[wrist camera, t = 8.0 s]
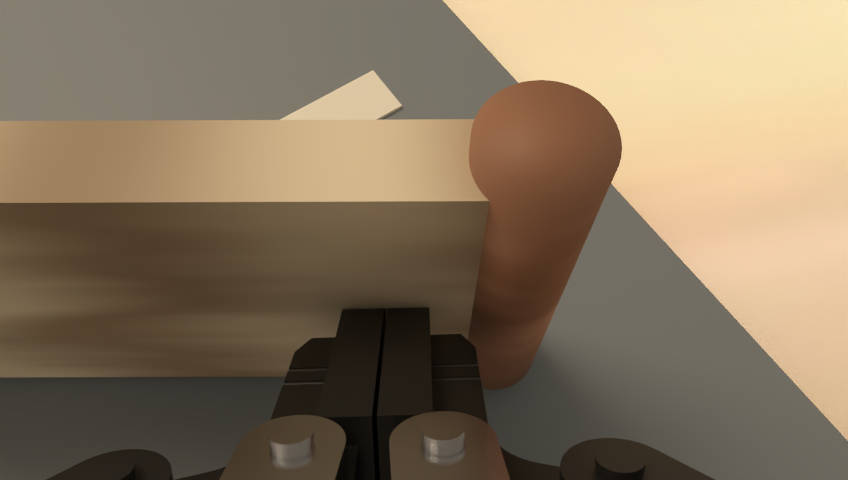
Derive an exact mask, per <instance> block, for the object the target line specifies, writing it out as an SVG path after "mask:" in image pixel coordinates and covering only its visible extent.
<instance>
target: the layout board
mask: <svg viewBox="0 0 848 480" xmlns="http://www.w3.org/2000/svg"><path fill="white" fill-rule="evenodd" d="M514 84H518V82H517V81H516V80H515V79H514V78H513V77H512V76H511V75H510V73H509V72H508V71H507V70H506V69H505V68H504V67H503V66H502V65H501V64H500V63H499V62H498V60H497V59H496V58H495V57H494V56H493V55H492V54H491V53H490V52H489V51H488V50H487V48H486V47H485V46H484V45H483V44H482V43H481V42H480V41H479V40H478V39H477V38H476V37H475V35H474V34H473V33H472V32H471V31H470V30H469V29H468V28H467V27H466V26H465V25H464V23H463V22H462V21H461V20H460V19H459V18H458V17H457V16H456V15H455V14H454V13H453V12H452V10H451V9H450V8H449V7H448V6H447V5H446V4H445V3H444V2H443V1H442V0H0V121H140V120H404V119H475V117H476V115H477V113H478V111H479V110H480V108H481V107H482V106H483V105H484V103H485V102H486V101H487V100H488V99H489V98H490V97H492V96H493V95H495V94H496V93H497V92H499V91H501V90H503V89H504V88H507V87H509V86H511V85H514ZM284 380H285V377H0V480H46V479H48V478H50V477H52V476H54V475H56V474H58V473H60V472H62V471H64V470H66V469H68V468H70V467H72V466H74V465H76V464H78V463H80V462H82V461H85V460H87V459H89V458H92V457H94V456H97V455H100V454H104V453H108V452H112V451H117V450H125V449H143V450H150V451H154V452H157V453H159V454H161V455H163V456H164V457H165V458H167V460H168V461H169V462H170V465H171V468H172V475H173V480H175V479H179V478H184V477H188V476H192V475H197V474H201V473H206V472H210V471H213V470H217V469H220V468H223V467H226V466H227V464H228V462H229V460H230V459H231V457H232V455H233V453H234V451H235V449H236V447H237V446H238V444H239V442H240V441H241V439H242V438H243V437H244V436H245V435H246V434H247V433H248V432H249V431H250V430H252V429H253V428H255V427H257V426H258V425H260V424H262V423H265V422H267V421H270V419H271V417H272V414H273V411H274V408H275V405H276V403H277V400H278V397H279V394H280V391H281V389H282V386H283V385H284ZM482 390H483V396H484V402H485V408H486V414H487V420H488V425H489V426H491V428H492V429H493V430H494V432H495V434H496V436H497V439H498V442H499V445H500V446H501V447H502V448H503V449H504V450H506V451H508V452H509V453H511V454H513V455H515V456H517V457H520V458H522V459H526V460H529V461H532V462H537V463H541V464H547V465H553V466H558V467H560V463H561V459H562V457H563V455H564V453H565V452H566V451H567V450H568V449H570V448H571V447H572V446H574V445H576V444H578V443H580V442H583V441H587V440H591V439H597V438H619V439H626V440H631V441H635V442H639V443H642V444H645V445H647V446H649V447H652V448H654V449H656V450H658V451H660V452H662V453H664V454H666V455H668V456H670V457H672V458H674V459H676V460H678V461H680V462H682V463H683V464H685V465H687V466H689V467H691V468H693V469H695V470H697V471H699V472H701V473H703V474H705V475H707V476H709V477H711V478H713V479H715V480H848V441H847V440H846V439H845V438H844V437H843V436H842V435H841V433H840V432H839V431H838V430H837V429H836V428H835V427H834V426H833V425H832V424H831V423H830V421H829V420H828V419H827V418H826V417H825V416H824V415H823V414H822V413H821V412H820V411H819V410H818V408H817V407H816V406H815V405H814V404H813V403H812V402H811V401H810V400H809V399H808V398H807V396H806V395H805V394H804V393H803V392H802V391H801V390H800V389H799V388H798V387H797V386H796V384H795V383H794V382H793V381H792V380H791V379H790V378H789V377H788V376H787V375H786V374H785V373H784V371H783V370H782V369H781V368H780V367H779V366H778V365H777V364H776V363H775V362H774V361H773V359H772V358H771V357H770V356H769V355H768V354H767V353H766V352H765V351H764V350H763V349H762V348H761V346H760V345H759V344H758V343H757V342H756V341H755V340H754V339H753V338H752V337H751V336H750V334H749V333H748V332H747V331H746V330H745V329H744V328H743V327H742V326H741V325H740V324H739V323H738V321H737V320H736V319H735V318H734V317H733V316H732V315H731V314H730V313H729V312H728V311H727V309H726V308H725V307H724V306H723V305H722V304H721V303H720V302H719V301H718V300H717V299H716V298H715V296H714V295H713V294H712V293H711V292H710V291H709V290H708V289H707V288H706V287H705V286H704V284H703V283H702V282H701V281H700V280H699V279H698V278H697V277H696V276H695V275H694V274H693V272H692V271H691V270H690V269H689V268H688V267H687V266H686V265H685V264H684V263H683V262H682V261H681V259H680V258H679V257H678V256H677V255H676V254H675V253H674V252H673V251H672V250H671V249H670V247H669V246H668V245H667V244H666V243H665V242H664V241H663V240H662V239H661V238H660V237H659V236H658V234H657V233H656V232H655V231H654V230H653V229H652V228H651V227H650V226H649V225H648V224H647V222H646V221H645V220H644V219H643V218H642V217H641V216H640V215H639V214H638V213H637V212H636V211H635V209H634V208H633V207H632V206H631V205H630V204H629V203H628V202H627V201H626V200H625V199H624V197H623V196H622V195H621V194H620V193H619V192H618V191H617V190H616V189H615V188H614V187H613V185H612V184H610V186H609V189H608V191H607V193H606V196H605V198H604V200H603V202H602V205H601V207H600V209H599V212H598V214H597V216H596V218H595V221H594V223H593V225H592V228H591V230H590V232H589V234H588V237H587V239H586V241H585V244H584V246H583V248H582V250H581V253H580V255H579V257H578V260H577V262H576V264H575V266H574V269H573V271H572V273H571V276H570V278H569V280H568V282H567V285H566V287H565V289H564V292H563V294H562V296H561V298H560V301H559V303H558V305H557V308H556V310H555V312H554V314H553V317H552V319H551V321H550V323H549V326H548V328H547V330H546V333H545V335H544V337H543V339H542V342H541V344H540V346H539V349H538V351H537V353H536V355H535V358H534V360H533V362H532V365H531V367H530V369H529V371H528V372H527V374H526V375H525V376H524V377H523V378H522V379H521V380H520V381H519V382H517V383H516V384H514V385H512V386H510V387H507V388H504V389H498V390H490V389H484V388H482Z"/></svg>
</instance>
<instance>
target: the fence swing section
mask: <svg viewBox="0 0 848 480" xmlns="http://www.w3.org/2000/svg"><path fill="white" fill-rule="evenodd" d="M621 152H622V144H621V137H620V133H619V130H618V127H617V125H616V123H615V121H614V119H613V117H612V116H611V114H610V113H609V112H608V110H607V109H606V108H605V107H604V106H603V105H602V104H601V103H600V102H599V101H598V100H596V99H595V98H594V97H593V96H591V95H589V94H588V93H586V92H584V91H582V90H581V89H579V88H576V87H574V86H571V85H568V84H564V83H560V82H555V81H545V80H537V81H527V82H521V83H518V84H514V85H511V86H509V87H507V88H504V89H503V90H501V91H499V92H497V93H496V94H495V95H493V96H492V97H490V98H489V99H488V100H487V101H486V102H485V103H484V105H483V106H482V107H481V108H480V110H479V111H478V113H477V115H476V117H475V119H404V120H140V121H0V377H286V375H287V372H288V371H289V366H290V363H291V361H292V358H293V355H294V352H295V351H296V350H298V349H299V348H300V347H301V346H303V345H304V344H305V343H306V342H307V341H309V340H310V339H311V338H328V337H336V333H337V329H338V325H339V321H340V317H341V313H342V310H343V309H379V308H384V310H385V316H386V319H387V310H388V308H421V307H429V313H430V335H436V334H462V335H463V336H464V337H465V338H466V339H467V340H468V341H469V342H470V343H471V344H472V345H474V346H475V348H476V354H477V360H478V366H479V372H480V380H481V384H482V388H484V389H490V390H498V389H504V388H507V387H510V386H512V385H514V384H516V383H517V382H519V381H520V380H521V379H522V378H523V377H524V376H525V375H526V374H527V372H528V371H529V369H530V367H531V365H532V362H533V360H534V358H535V355H536V353H537V351H538V349H539V346H540V344H541V342H542V339H543V337H544V335H545V333H546V330H547V328H548V326H549V323H550V321H551V319H552V317H553V314H554V312H555V310H556V308H557V305H558V303H559V301H560V298H561V296H562V294H563V292H564V289H565V287H566V285H567V282H568V280H569V278H570V276H571V273H572V271H573V269H574V266H575V264H576V262H577V260H578V257H579V255H580V253H581V250H582V248H583V246H584V244H585V241H586V239H587V237H588V234H589V232H590V230H591V228H592V225H593V223H594V221H595V218H596V216H597V214H598V212H599V209H600V207H601V205H602V202H603V200H604V198H605V196H606V193H607V191H608V189H609V186H610V184H611V182H612V180H613V177H614V175H615V173H616V171H617V168H618V166H619V163H620V159H621Z"/></svg>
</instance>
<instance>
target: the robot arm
mask: <svg viewBox="0 0 848 480" xmlns="http://www.w3.org/2000/svg"><path fill="white" fill-rule="evenodd" d="M46 480H173V475H172V468H171V465H170V462H169V461H168V460H167V458H165V457H164V456H163V455H161V454H159V453H157V452H154V451H150V450H143V449H125V450H117V451H112V452H108V453H104V454H100V455H97V456H94V457H92V458H89V459H87V460H85V461H82V462H80V463H78V464H76V465H74V466H72V467H70V468H68V469H66V470H64V471H62V472H60V473H58V474H56V475H54V476H52V477H50V478H48V479H46ZM175 480H715V479H713V478H711V477H709V476H707V475H705V474H703V473H701V472H699V471H697V470H695V469H693V468H691V467H689V466H687V465H685V464H683V463H682V462H680V461H678V460H676V459H674V458H672V457H670V456H668V455H666V454H664V453H662V452H660V451H658V450H656V449H654V448H652V447H649V446H647V445H645V444H642V443H639V442H635V441H631V440H626V439H619V438H597V439H591V440H587V441H583V442H580V443H578V444H576V445H574V446H572V447H571V448H570V449H568V450H567V451H566V452H565V453H564V455H563V457H562V459H561V463H560V467H558V466H553V465H547V464H541V463H537V462H532V461H529V460H526V459H522V458H520V457H517V456H515V455H513V454H511V453H509V452H508V451H506V450H504V449H503V448H502V447H501V446H500V445H499V442H498V439H497V436H496V434H495V432H494V430H493V429H492V428H491V426H489V425H488V420H487V414H486V408H485V402H484V396H483V390H482V384H481V380H480V372H479V366H478V360H477V354H476V348H475V346H474V345H472V344H471V343H470V342H469V341H468V340H467V339H466V338H465V337H464V336H463V335H462V334H436V335H430V313H429V307H421V308H388V310H387V319H386V316H385V310H384V308H379V309H343V310H342V313H341V317H340V321H339V325H338V329H337V333H336V337H328V338H311V339H310V340H309V341H307V342H306V343H305V344H304V345H303V346H301V347H300V348H299V349H298V350H296V351H295V352H294V355H293V358H292V361H291V363H290V366H289V371H288V372H287V375H286V377H285V380H284V385H283V386H282V389H281V391H280V394H279V397H278V400H277V403H276V405H275V408H274V411H273V414H272V417H271V419H270V421H267V422H265V423H262V424H260V425H258V426H257V427H255V428H253V429H252V430H250V431H249V432H248V433H247V434H246V435H245V436H244V437H243V438H242V439H241V441H240V442H239V444H238V446H237V447H236V449H235V451H234V453H233V455H232V457H231V459H230V460H229V462H228V464H227V466H226V467H223V468H220V469H217V470H213V471H210V472H206V473H201V474H197V475H192V476H188V477H184V478H179V479H175Z"/></svg>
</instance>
